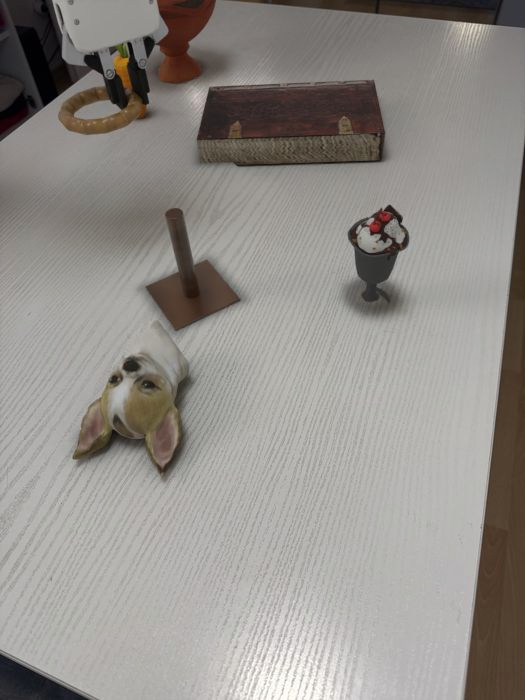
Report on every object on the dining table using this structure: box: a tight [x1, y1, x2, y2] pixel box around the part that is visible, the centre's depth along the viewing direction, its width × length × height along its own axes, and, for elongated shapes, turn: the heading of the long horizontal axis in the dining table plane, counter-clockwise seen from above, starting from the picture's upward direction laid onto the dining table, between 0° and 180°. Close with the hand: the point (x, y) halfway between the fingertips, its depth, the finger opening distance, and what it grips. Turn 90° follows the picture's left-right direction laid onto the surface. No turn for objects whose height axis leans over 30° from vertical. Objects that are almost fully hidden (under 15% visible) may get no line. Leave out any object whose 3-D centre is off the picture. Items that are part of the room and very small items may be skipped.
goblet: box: [155, 0, 217, 84], centre depth 101 cm, size 19×19×25 cm
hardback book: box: [196, 79, 386, 166], centre depth 91 cm, size 29×19×5 cm, turn 88°
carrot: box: [113, 43, 148, 120], centre depth 94 cm, size 5×5×15 cm
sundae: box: [347, 204, 410, 304], centre depth 61 cm, size 7×7×15 cm
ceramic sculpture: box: [71, 320, 190, 476], centre depth 55 cm, size 11×9×15 cm
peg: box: [145, 207, 241, 332], centre depth 64 cm, size 9×9×13 cm
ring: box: [57, 85, 143, 136], centre depth 63 cm, size 10×10×2 cm
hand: (131, 102), depth 65 cm, fingers closed on ring, 2 cm apart
